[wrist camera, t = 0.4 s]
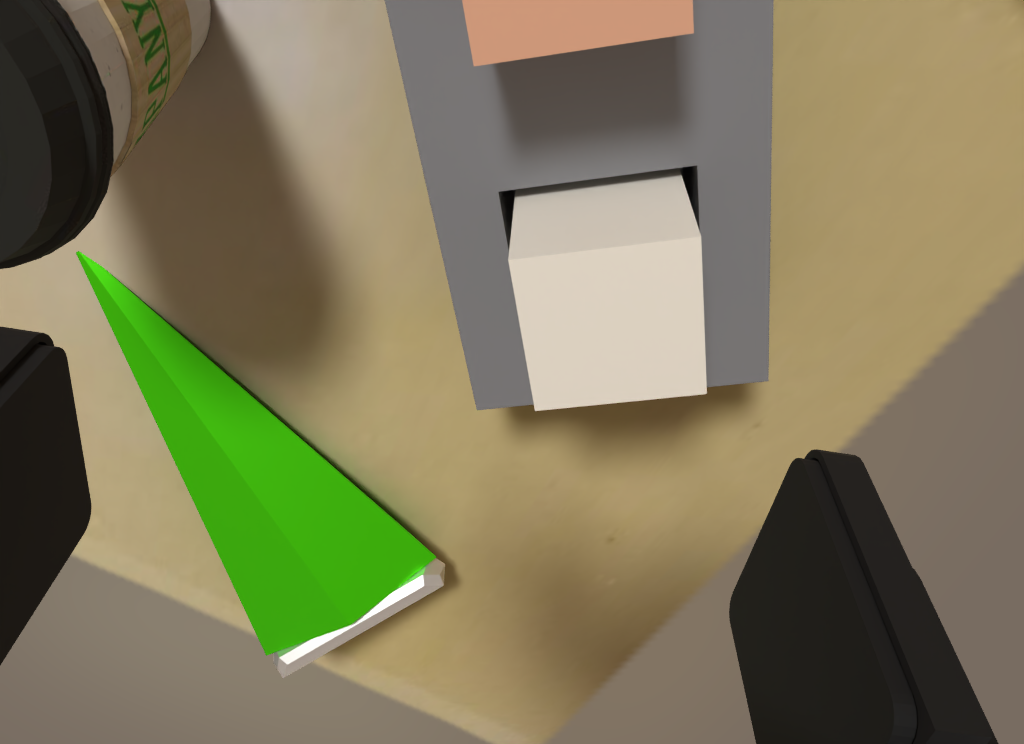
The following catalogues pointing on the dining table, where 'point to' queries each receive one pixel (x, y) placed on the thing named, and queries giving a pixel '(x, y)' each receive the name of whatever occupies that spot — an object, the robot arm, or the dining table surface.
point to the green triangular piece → (268, 498)
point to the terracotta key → (567, 25)
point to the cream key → (609, 290)
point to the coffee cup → (80, 105)
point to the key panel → (595, 164)
